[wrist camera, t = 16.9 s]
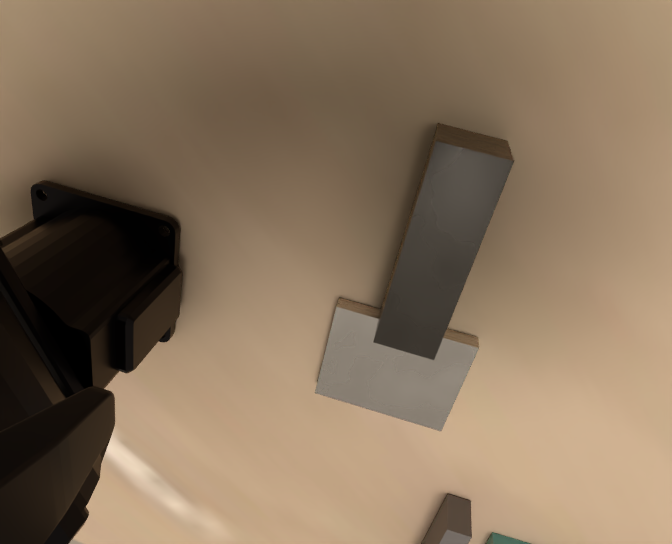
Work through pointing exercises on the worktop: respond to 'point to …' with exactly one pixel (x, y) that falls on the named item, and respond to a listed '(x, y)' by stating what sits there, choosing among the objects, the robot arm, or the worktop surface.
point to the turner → (421, 291)
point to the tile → (503, 540)
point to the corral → (451, 523)
